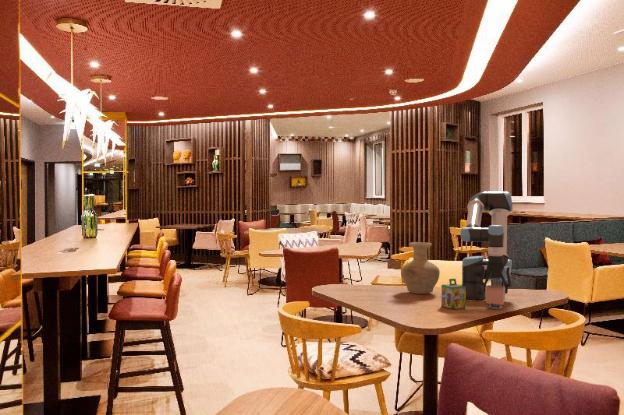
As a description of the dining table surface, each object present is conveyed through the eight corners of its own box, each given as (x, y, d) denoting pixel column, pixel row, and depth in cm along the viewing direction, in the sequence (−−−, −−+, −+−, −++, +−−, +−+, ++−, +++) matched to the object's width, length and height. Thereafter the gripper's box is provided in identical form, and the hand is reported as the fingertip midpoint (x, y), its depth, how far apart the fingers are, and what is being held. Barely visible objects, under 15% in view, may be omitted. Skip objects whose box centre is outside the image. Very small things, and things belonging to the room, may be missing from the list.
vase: (397, 295, 309) (397, 244, 308) (404, 289, 330) (405, 241, 329) (436, 298, 301) (437, 245, 300) (441, 291, 322) (442, 242, 321)
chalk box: (453, 309, 270) (453, 280, 269) (440, 306, 278) (440, 278, 278) (466, 308, 274) (466, 279, 274) (453, 304, 282) (454, 277, 282)
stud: (487, 308, 272) (487, 294, 272) (488, 306, 279) (489, 292, 278) (501, 310, 269) (501, 295, 269) (503, 307, 276) (503, 293, 276)
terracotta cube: (488, 300, 279) (488, 285, 279) (504, 301, 276) (504, 286, 276) (486, 303, 272) (486, 287, 272) (502, 304, 269) (502, 288, 269)
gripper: (473, 254, 274) (473, 298, 275) (516, 256, 266) (516, 302, 266) (475, 253, 281) (475, 296, 282) (517, 255, 272) (517, 299, 273)
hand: (495, 299), depth 274 cm, fingers closed on terracotta cube, 8 cm apart
